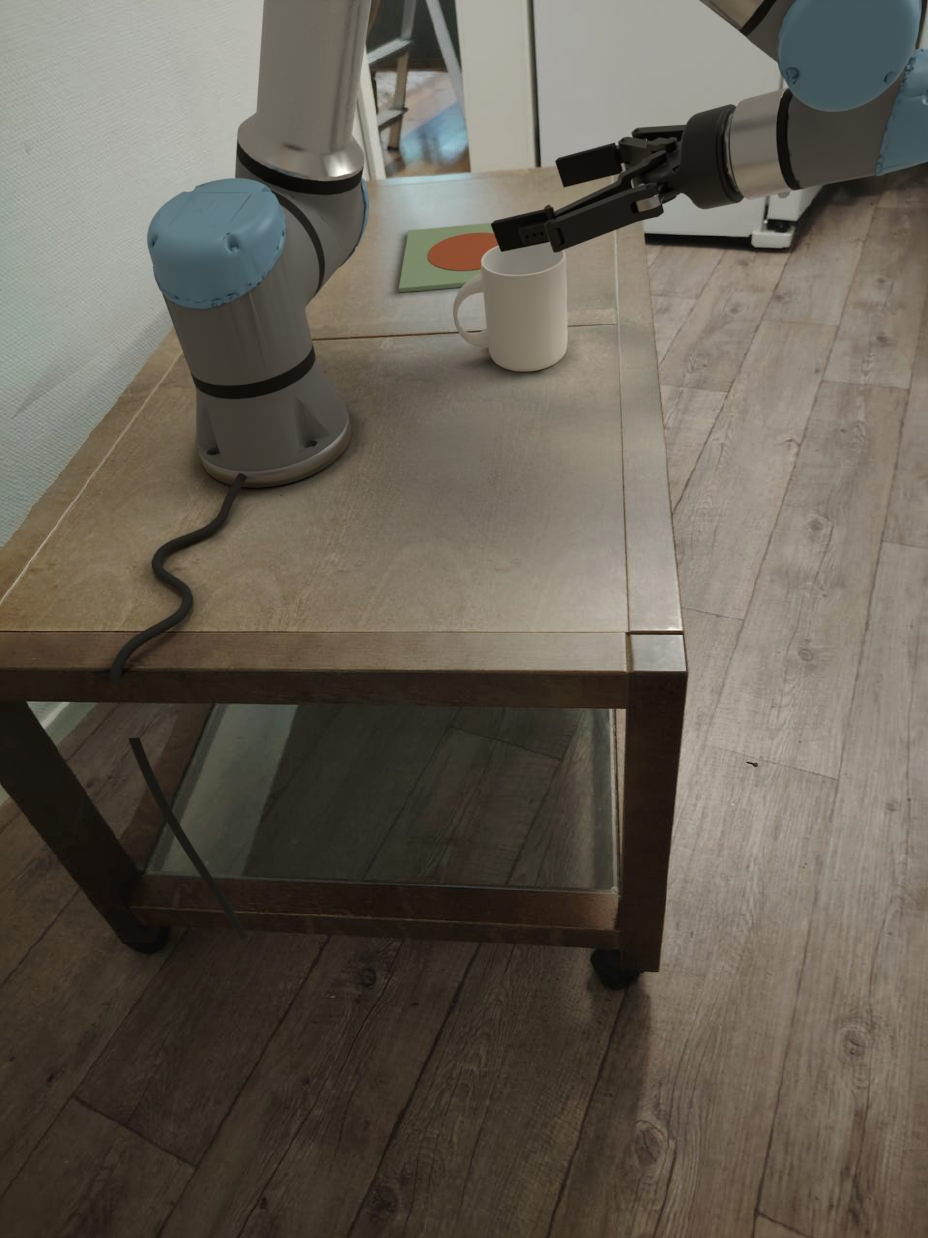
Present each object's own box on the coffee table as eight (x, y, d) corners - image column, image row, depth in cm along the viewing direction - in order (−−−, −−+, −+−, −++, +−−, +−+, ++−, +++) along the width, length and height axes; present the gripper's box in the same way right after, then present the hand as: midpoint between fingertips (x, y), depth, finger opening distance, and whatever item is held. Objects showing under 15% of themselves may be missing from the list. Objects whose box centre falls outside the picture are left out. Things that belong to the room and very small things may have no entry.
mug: (456, 343, 101) (445, 248, 94) (562, 330, 101) (560, 234, 93) (460, 381, 95) (449, 284, 87) (573, 368, 95) (571, 269, 87)
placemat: (543, 280, 110) (543, 274, 110) (399, 292, 112) (398, 287, 111) (538, 222, 123) (538, 217, 122) (408, 234, 124) (408, 229, 124)
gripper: (697, 269, 70) (483, 303, 83) (793, 136, 83) (595, 184, 96) (674, 173, 66) (451, 226, 79) (779, 48, 79) (573, 111, 92)
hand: (530, 203), depth 87 cm, fingers open, 13 cm apart
